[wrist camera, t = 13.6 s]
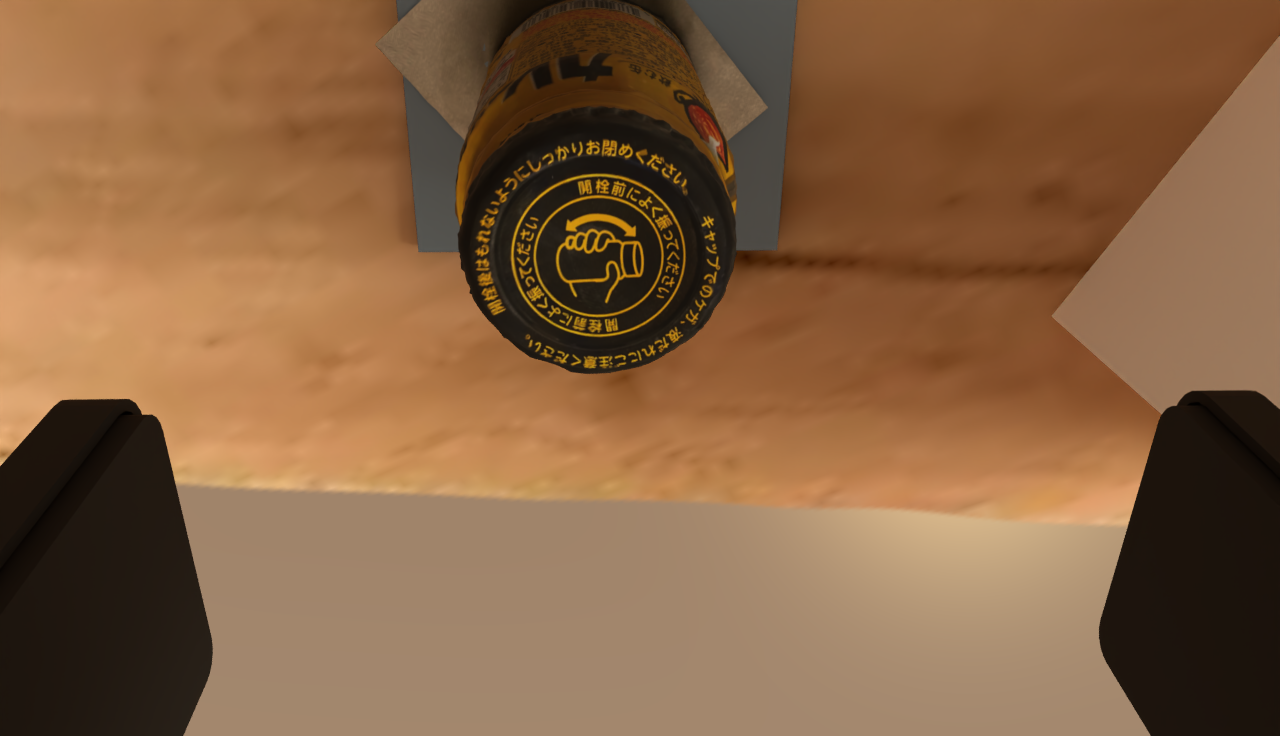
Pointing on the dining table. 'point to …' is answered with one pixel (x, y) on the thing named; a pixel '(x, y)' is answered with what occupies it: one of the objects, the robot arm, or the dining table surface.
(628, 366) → the condiment
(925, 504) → the dining table surface
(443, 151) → the slate mat
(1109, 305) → the milk
